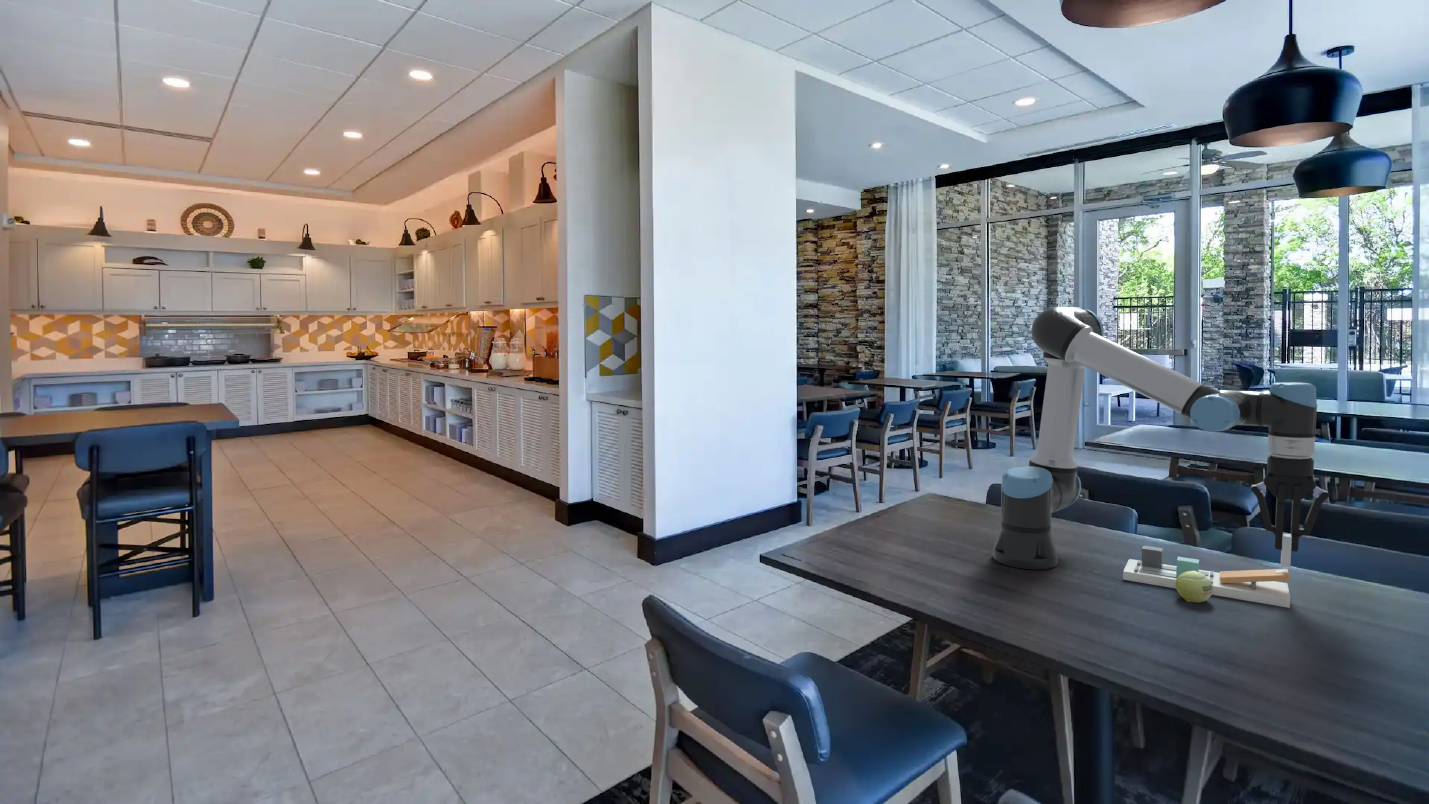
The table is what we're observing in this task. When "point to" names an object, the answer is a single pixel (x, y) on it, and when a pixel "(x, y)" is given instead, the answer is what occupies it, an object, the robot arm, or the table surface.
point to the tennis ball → (1194, 586)
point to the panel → (1241, 590)
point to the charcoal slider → (1152, 556)
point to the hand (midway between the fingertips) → (1285, 565)
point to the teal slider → (1186, 565)
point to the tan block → (1254, 575)
